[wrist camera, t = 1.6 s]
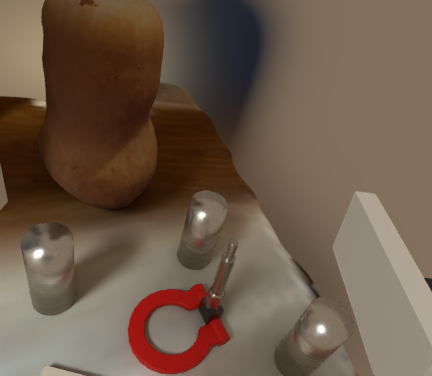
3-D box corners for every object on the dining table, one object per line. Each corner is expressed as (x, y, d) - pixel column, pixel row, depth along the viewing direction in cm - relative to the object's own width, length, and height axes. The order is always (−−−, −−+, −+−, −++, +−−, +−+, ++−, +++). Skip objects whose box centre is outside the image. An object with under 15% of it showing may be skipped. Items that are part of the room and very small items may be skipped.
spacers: (25, 291, 37) (12, 233, 31) (183, 217, 49) (197, 165, 43) (158, 537, 26) (179, 520, 20) (319, 365, 38) (361, 323, 32)
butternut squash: (169, 185, 52) (207, 0, 36) (111, 248, 43) (126, 32, 26) (89, 145, 55) (89, -47, 38) (16, 195, 45) (-26, -33, 29)
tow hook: (145, 392, 33) (233, 350, 37) (155, 324, 24) (269, 280, 28) (117, 310, 38) (197, 282, 42) (117, 230, 29) (219, 204, 33)
